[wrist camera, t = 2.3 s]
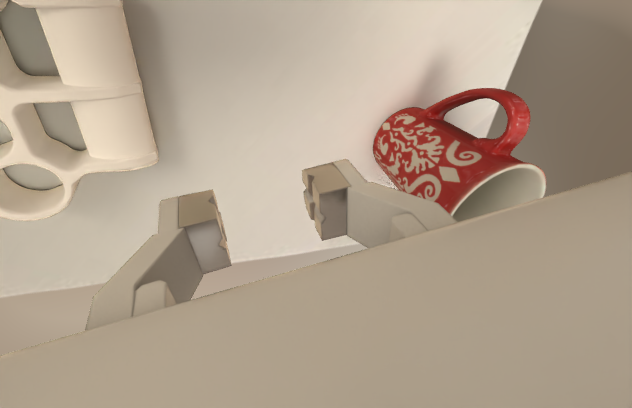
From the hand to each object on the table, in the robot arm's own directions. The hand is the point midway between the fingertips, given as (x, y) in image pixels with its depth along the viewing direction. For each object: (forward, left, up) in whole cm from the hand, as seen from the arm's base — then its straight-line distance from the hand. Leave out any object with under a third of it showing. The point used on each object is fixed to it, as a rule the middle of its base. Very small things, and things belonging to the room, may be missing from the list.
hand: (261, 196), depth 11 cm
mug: (+18, -9, -19) cm, 28 cm away
